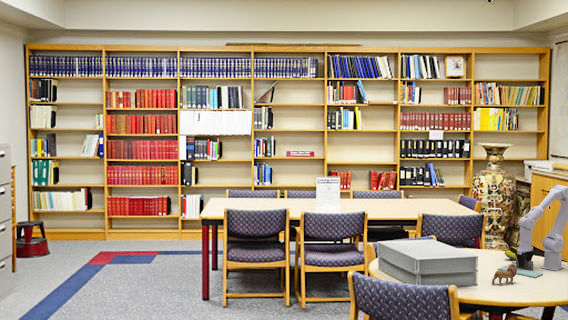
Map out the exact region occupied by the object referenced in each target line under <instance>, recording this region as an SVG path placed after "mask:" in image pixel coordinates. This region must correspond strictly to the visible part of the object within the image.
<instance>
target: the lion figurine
mask: <svg viewBox="0 0 568 320" xmlns="http://www.w3.org/2000/svg"><path fill="white" fill-rule="evenodd" d="M508 266H509V267H508V269H507V270H506V271H501V270H498V269H497V270H496V271H495V272H494V275H493V278H492V281H491V284H492V285H495V284H496V282H495V280H497V279H498V283H499V284H500V286H504V283H502V280H503V279H505V283H506V284H508V283H509V282H510V283H509V284H510V285H514V282H513V280H514V277H516V276H517V274H516V273H517V267H516V265H515V264H512V263H510V264H508ZM509 278H510V281H509Z"/></svg>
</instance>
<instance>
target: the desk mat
mask: <svg viewBox="0 0 568 320" xmlns="http://www.w3.org/2000/svg"><path fill="white" fill-rule="evenodd" d="M508 267H509V265H503V266H501V267H498V268H497V271H498V270H501V271H506V270H507V269H508ZM516 275H519V276H524V277H527V278H531V277H532V279H538V278H539V277H541V276H543V275H544V273H543V272H538V271H534V270H533V271H529V270H525V269H520V268H517V273H516Z"/></svg>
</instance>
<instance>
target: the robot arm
mask: <svg viewBox="0 0 568 320" xmlns="http://www.w3.org/2000/svg"><path fill="white" fill-rule="evenodd" d="M555 201H559V203H560V204H561V205H560V208H559V210H558V213H557V215H556V217H555V221H554V224H553V225H552V228H551V230H550V232H549V233H547V234H546V236H545V237H544V238H543V240H542V243H541V244H542V247H543V248H544V260H543V265H542V266H540V268H541V269H545V270H549V271H556V272H557V271H560V270H561V269H563V268H564V266H562V262H563V255H562V253H561V252H562V251H563V250H564V243H565V239H564V237H563V234H564V233H565V229H566V226H567V224H568V186H567V185H562V184H559V183H558V184H554V186H552V188H551V189H550V190H549V193H548V194H547V195H546V196H545V197H544V199H543V200H542V201H541V202H540V203H539V204H538V205H536V206H532V207H531V208H530V210H529V212H527V213H526V214H525V215H524V216H522V217H520V219H519V220H518V221H517V224H518V226H519V246H517V247H516V248H517V249H518V250H517V253H515V255H516V257H517V260H518V264H519V267H522V268H523V267H524V264H525V260H529V261H532V260H533V258H534V255H535V254H536V251H535V250H534V246H532V242H533V241H532V240H533V229H534V228H535V227H536V223H537V221H538V220H539V219H540V218H541V217H543V215H544V214H545V212H544V211H546V209H547V208H548V207H549V206H550V205H551V204H553V203H554V202H555Z"/></svg>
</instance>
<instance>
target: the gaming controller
mask: <svg viewBox="0 0 568 320" xmlns="http://www.w3.org/2000/svg"><path fill="white" fill-rule="evenodd" d="M517 250H518V249H517V247H515V246H509V249H507V250H504V254H505V256H506V258H508V259H509V260H512V261H516V259H517V257H516V255H515V253H517Z"/></svg>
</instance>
